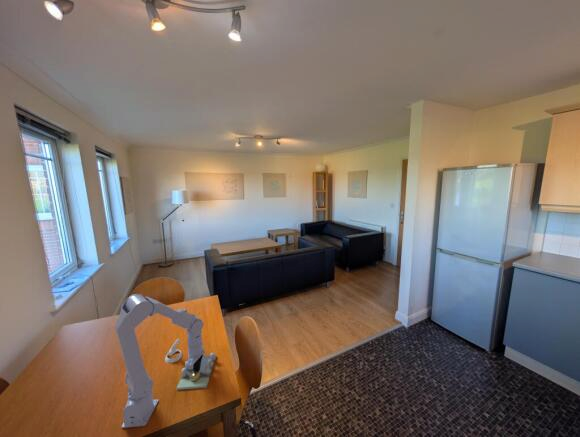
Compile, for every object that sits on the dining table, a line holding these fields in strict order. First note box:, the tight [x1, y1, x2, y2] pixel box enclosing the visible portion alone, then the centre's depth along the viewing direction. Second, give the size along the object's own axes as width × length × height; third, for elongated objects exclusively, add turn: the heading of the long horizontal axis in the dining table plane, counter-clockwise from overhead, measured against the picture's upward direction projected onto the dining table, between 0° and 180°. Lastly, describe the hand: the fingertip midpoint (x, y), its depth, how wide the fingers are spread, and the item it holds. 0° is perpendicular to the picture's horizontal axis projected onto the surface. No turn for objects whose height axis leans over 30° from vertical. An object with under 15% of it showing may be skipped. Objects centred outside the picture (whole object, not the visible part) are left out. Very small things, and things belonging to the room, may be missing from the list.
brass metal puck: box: [190, 370, 200, 382], centre depth 95 cm, size 4×4×2 cm
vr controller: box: [164, 338, 183, 364], centre depth 108 cm, size 8×12×7 cm
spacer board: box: [176, 352, 217, 391], centre depth 99 cm, size 17×12×4 cm
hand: (197, 370), depth 98 cm, fingers closed
